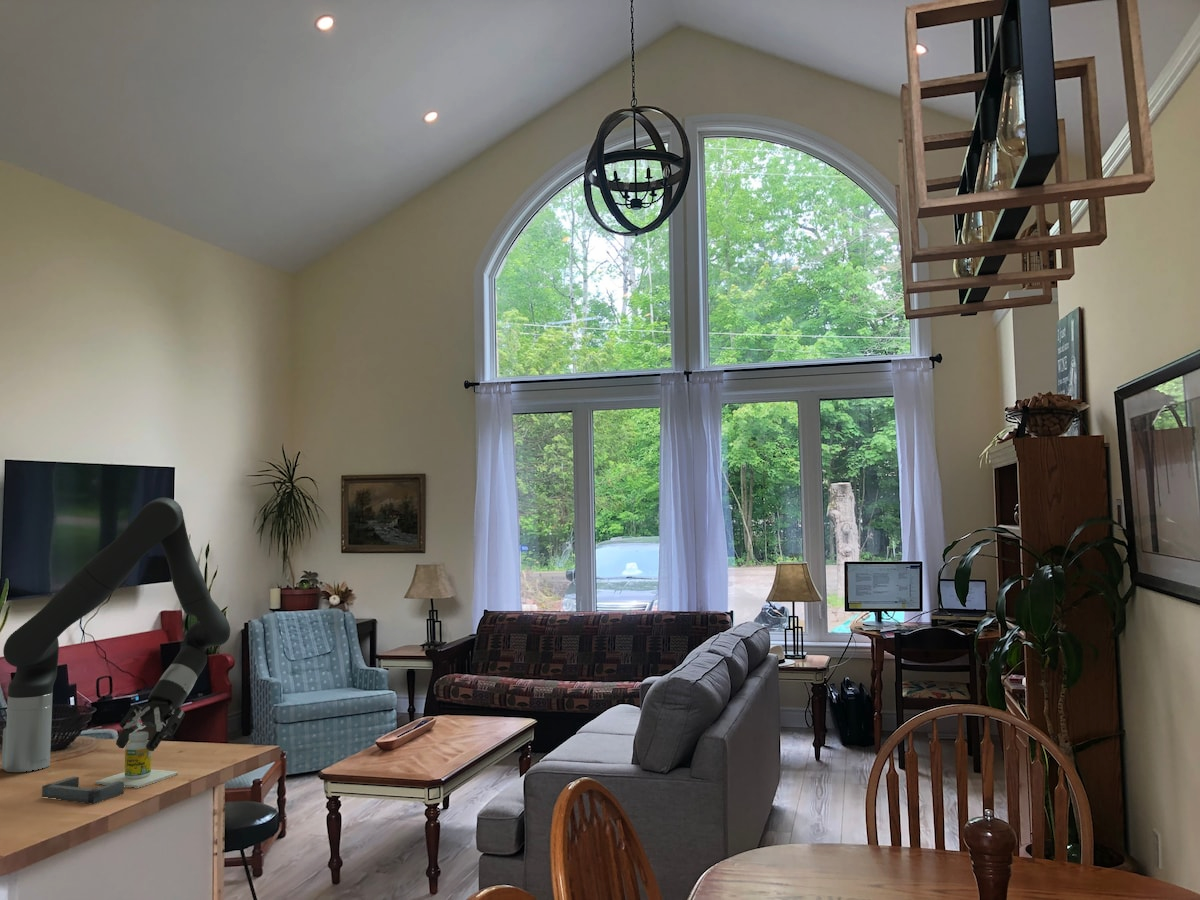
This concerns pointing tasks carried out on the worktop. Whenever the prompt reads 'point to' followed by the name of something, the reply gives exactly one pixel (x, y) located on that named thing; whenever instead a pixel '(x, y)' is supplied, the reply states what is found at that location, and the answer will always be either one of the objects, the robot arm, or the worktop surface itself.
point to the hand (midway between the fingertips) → (134, 747)
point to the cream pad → (136, 783)
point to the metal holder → (81, 791)
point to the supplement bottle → (137, 756)
